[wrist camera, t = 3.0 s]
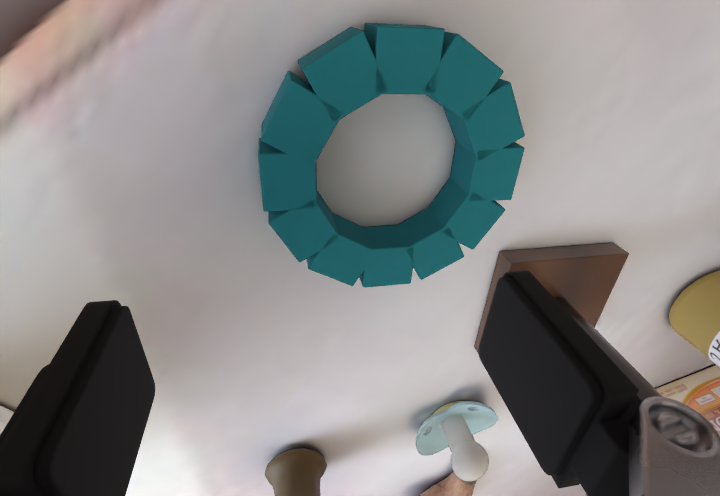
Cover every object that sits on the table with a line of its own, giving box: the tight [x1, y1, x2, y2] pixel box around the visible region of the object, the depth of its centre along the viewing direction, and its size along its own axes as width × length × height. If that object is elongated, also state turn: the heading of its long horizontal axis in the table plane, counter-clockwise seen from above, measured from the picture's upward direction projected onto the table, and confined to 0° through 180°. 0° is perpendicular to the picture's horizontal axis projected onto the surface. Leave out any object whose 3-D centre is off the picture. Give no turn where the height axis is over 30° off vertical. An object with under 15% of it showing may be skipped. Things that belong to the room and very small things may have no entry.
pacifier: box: [416, 401, 498, 481], centre depth 33 cm, size 7×6×6 cm
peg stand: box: [475, 243, 663, 401], centre depth 26 cm, size 9×9×10 cm
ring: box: [258, 23, 524, 287], centre depth 21 cm, size 13×13×3 cm
